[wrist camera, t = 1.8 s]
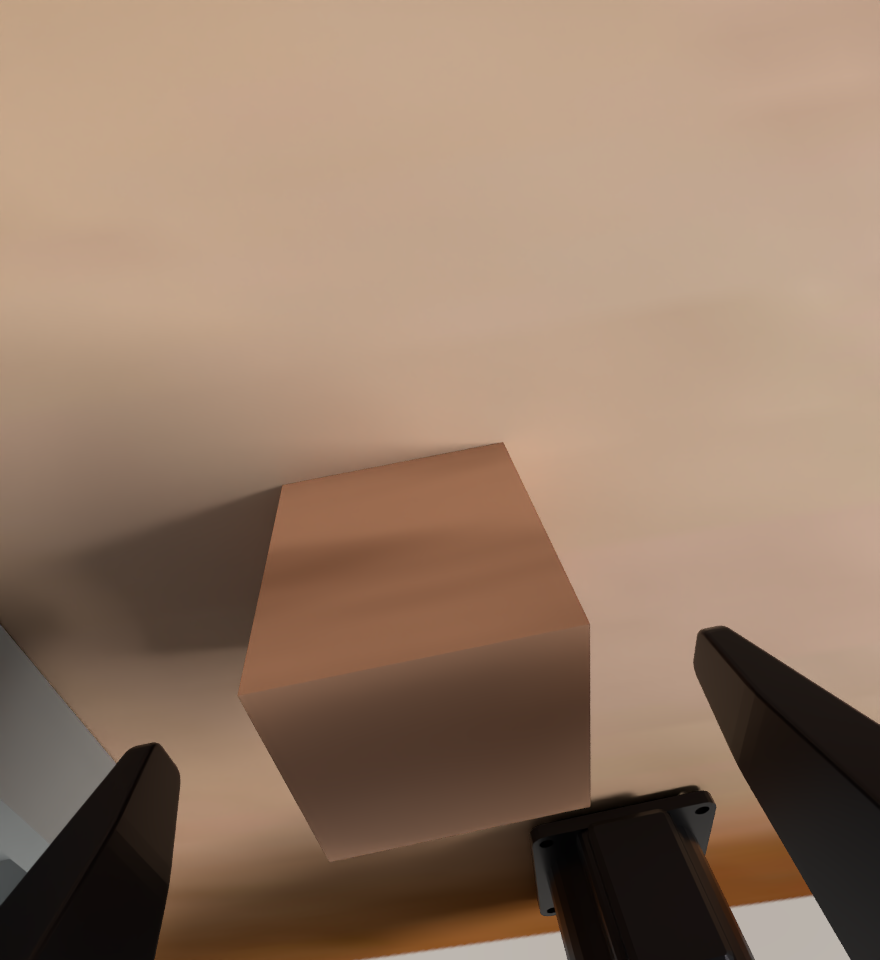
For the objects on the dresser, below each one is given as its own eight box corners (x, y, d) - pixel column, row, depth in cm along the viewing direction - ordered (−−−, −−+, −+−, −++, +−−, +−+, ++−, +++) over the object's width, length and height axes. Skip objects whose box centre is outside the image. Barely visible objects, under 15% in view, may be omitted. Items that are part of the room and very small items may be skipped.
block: (518, 599, 14) (590, 806, 9) (338, 636, 14) (329, 862, 9) (502, 441, 11) (589, 623, 7) (282, 483, 11) (238, 696, 7)
